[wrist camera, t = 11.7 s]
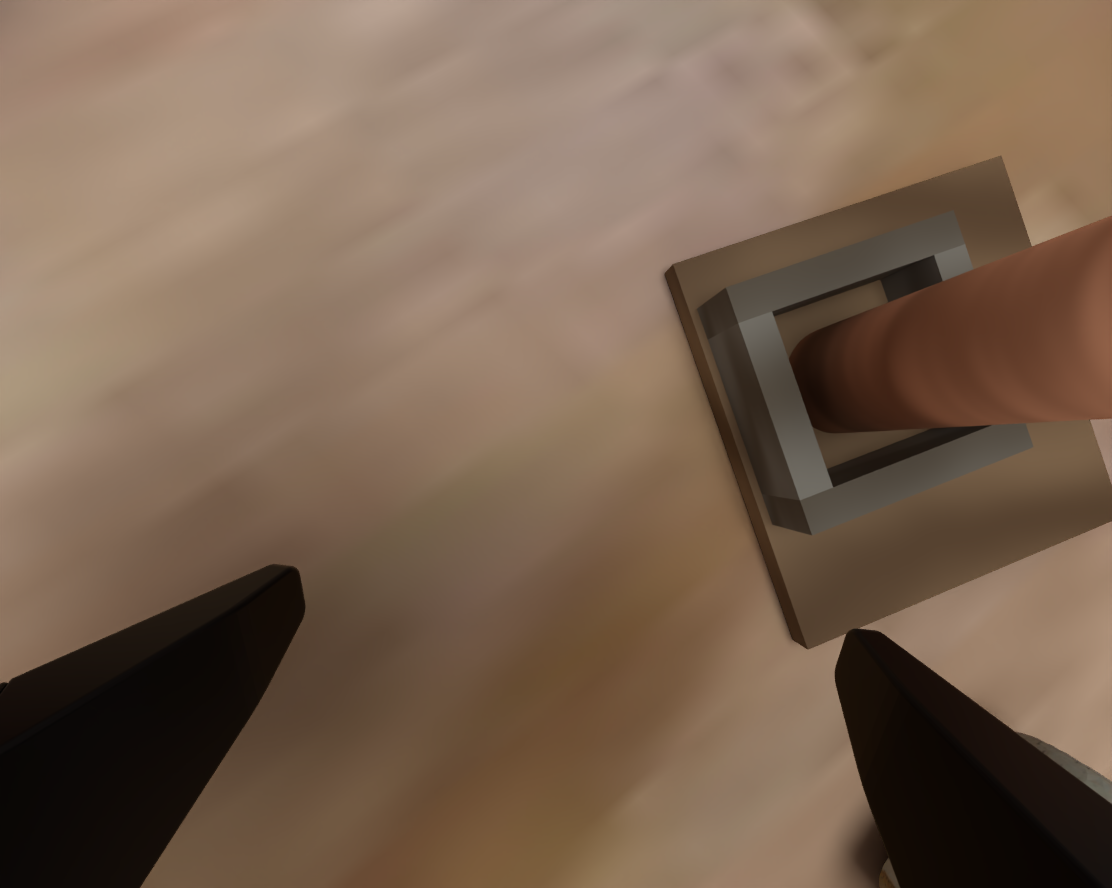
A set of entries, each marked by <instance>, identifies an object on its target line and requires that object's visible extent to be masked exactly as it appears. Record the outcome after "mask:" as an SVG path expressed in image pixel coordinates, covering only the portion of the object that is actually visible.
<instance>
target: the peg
mask: <svg viewBox="0 0 1112 888" xmlns="http://www.w3.org/2000/svg"><path fill="white" fill-rule="evenodd" d="M789 362H790V365H791V367H792V370H793V373H794V376H795V379H796V382H797V385H798V388H799V391H800V393H801V396H802V399H803V402H804V405H805V408H806V411H807V414H808V416H809V419H810V422H811V425H812V427H813V428H815V429H818V430H820V431H823V432H827V433H856V432H874V431H892V430H910V429H928V428H946V427H964V426H983V425H1001V424H1019V423H1037V422H1055V421H1073V420H1091V419H1110V418H1112V216H1110V217H1107V218H1104V219H1102V220H1099V221H1097V222H1094V223H1092V224H1089V225H1086V226H1084V227H1081V228H1079V229H1076V230H1073V231H1071V232H1068V233H1066V234H1063V235H1061V236H1058V237H1055V238H1053V239H1050V240H1048V241H1045V242H1043V243H1040V244H1037V245H1035V246H1032V247H1030V248H1027V249H1025V250H1022V251H1019V252H1017V253H1014V254H1012V255H1009V256H1007V257H1004V258H1001V259H999V260H996V261H994V262H991V263H989V264H986V265H983V266H981V267H978V268H976V269H973V270H970V271H968V272H965V273H963V274H960V275H958V276H955V277H952V278H950V279H947V280H945V281H942V282H940V283H937V284H934V285H932V286H929V287H927V288H924V289H922V290H919V291H916V292H914V293H911V294H909V295H906V296H904V297H901V298H898V299H896V300H893V301H891V302H888V303H886V304H883V305H880V306H878V307H875V308H873V309H870V310H867V311H865V312H862V313H860V314H857V315H855V316H852V317H849V318H847V319H844V320H842V321H839V322H837V323H834V324H831V325H829V326H826V327H824V328H821V329H819V330H816V331H814V332H812V333H810V334H809V335H807V336H806V337H804V338H803V339H802V340H801V341H800V342H799V343H798V344H797V345H796V347H795V348H794V350H793V351H792V353H791V355H790V357H789Z"/></svg>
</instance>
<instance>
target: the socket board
mask: <svg viewBox="0 0 1112 888" xmlns="http://www.w3.org/2000/svg"><path fill="white" fill-rule="evenodd" d="M1030 247H1032V246H1031V243H1030V240H1029V237H1028V234H1027V231H1026V228H1025V225H1024V222H1023V219H1022V216H1021V213H1020V210H1019V207H1018V204H1017V201H1016V198H1015V195H1014V192H1013V189H1012V186H1011V183H1010V180H1009V177H1008V174H1007V171H1006V168H1005V165H1004V162H1003V159H1002V156H998V157H995V158H992V159H989V160H986V161H983V162H980V163H977V164H974V165H971V166H968V167H965V168H962V169H959V170H956V171H953V172H950V173H947V174H944V175H941V176H938V177H935V178H932V179H929V180H926V181H923V182H920V183H917V184H914V185H911V186H908V187H905V188H902V189H899V190H896V191H893V192H890V193H887V194H884V195H881V196H878V197H875V198H872V199H869V200H866V201H863V202H860V203H856V204H853V205H850V206H847V207H844V208H841V209H838V210H835V211H832V212H829V213H826V214H823V215H820V216H817V217H814V218H811V219H808V220H805V221H802V222H799V223H796V224H793V225H790V226H787V227H784V228H781V229H778V230H775V231H772V232H769V233H766V234H763V235H760V236H757V237H754V238H751V239H748V240H745V241H742V242H739V243H736V244H733V245H730V246H727V247H724V248H721V249H718V250H715V251H712V252H709V253H706V254H703V255H700V256H697V257H694V258H691V259H688V260H685V261H681V262H678V263H675V264H673V265H672V266H671V267H670V268H669V269H668V270H667V271H666V273H665V276H666V279H667V282H668V285H669V287H670V290H671V293H672V296H673V299H674V302H675V305H676V307H677V310H678V313H679V316H680V319H681V322H682V324H683V327H684V330H685V333H686V336H687V339H688V342H689V344H690V347H691V350H692V353H693V356H694V359H695V362H696V364H697V367H698V370H699V373H700V376H701V379H702V382H703V384H704V387H705V390H706V393H707V396H708V399H709V402H710V404H711V407H712V410H713V413H714V416H715V419H716V421H717V424H718V427H719V430H720V433H721V436H722V439H723V441H724V444H725V447H726V450H727V453H728V456H729V459H730V461H731V464H732V467H733V470H734V473H735V476H736V479H737V481H738V484H739V487H740V490H741V493H742V496H743V498H744V501H745V504H746V507H747V510H748V513H749V516H750V518H751V521H752V524H753V527H754V530H755V533H756V536H757V538H758V541H759V544H760V547H761V550H762V553H763V556H764V558H765V561H766V564H767V567H768V570H769V573H770V576H771V578H772V581H773V584H774V587H775V590H776V593H777V595H778V598H779V601H780V604H781V607H782V610H783V613H784V615H785V618H786V621H787V624H788V627H789V630H790V633H791V635H792V638H793V640H794V641H795V642H797V643H799V644H800V645H802V646H803V647H805V648H806V649H810V648H813V647H815V646H818V645H820V644H822V643H825V642H827V641H829V640H832V639H834V638H836V637H839V636H841V635H844V634H846V633H847V632H848V631H849V630H851V629H854V628H857V629H858V628H860V627H862V626H865V625H867V624H870V623H872V622H874V621H877V620H879V619H881V618H884V617H886V616H888V615H891V614H893V613H896V612H898V611H900V610H903V609H905V608H907V607H910V606H912V605H914V604H917V603H919V602H922V601H924V600H926V599H929V598H931V597H933V596H936V595H938V594H940V593H943V592H945V591H948V590H950V589H952V588H955V587H957V586H959V585H962V584H964V583H966V582H969V581H971V580H974V579H976V578H978V577H981V576H983V575H985V574H988V573H990V572H992V571H995V570H997V569H1000V568H1002V567H1004V566H1007V565H1009V564H1011V563H1014V562H1016V561H1018V560H1021V559H1023V558H1026V557H1028V556H1030V555H1033V554H1035V553H1037V552H1040V551H1042V550H1044V549H1047V548H1049V547H1052V546H1054V545H1056V544H1059V543H1061V542H1063V541H1066V540H1068V539H1070V538H1073V537H1075V536H1078V535H1080V534H1082V533H1085V532H1087V531H1089V530H1092V529H1094V528H1096V527H1099V526H1101V525H1104V524H1106V523H1108V522H1111V521H1112V485H1111V482H1110V479H1109V476H1108V473H1107V470H1106V467H1105V464H1104V461H1103V458H1102V455H1101V452H1100V449H1099V446H1098V443H1097V440H1096V437H1095V434H1094V431H1093V428H1092V425H1091V422H1090V420H1073V421H1055V422H1037V423H1019V424H1001V425H983V426H964V427H946V428H928V429H910V430H892V431H874V432H856V433H827V432H823V431H820V430H818V429H815V428H813V427H812V425H811V422H810V419H809V416H808V414H807V411H806V408H805V405H804V402H803V399H802V396H801V393H800V391H799V388H798V385H797V382H796V379H795V376H794V373H793V370H792V367H791V365H790V362H789V357H790V355H791V353H792V351H793V350H794V348H795V347H796V345H797V344H798V343H799V342H800V341H801V340H802V339H803V338H804V337H806V336H807V335H809V334H810V333H812V332H814V331H816V330H819V329H821V328H824V327H826V326H829V325H831V324H834V323H837V322H839V321H842V320H844V319H847V318H849V317H852V316H855V315H857V314H860V313H862V312H865V311H867V310H870V309H873V308H875V307H878V306H880V305H883V304H886V303H888V302H891V301H893V300H896V299H898V298H901V297H904V296H906V295H909V294H911V293H914V292H916V291H919V290H922V289H924V288H927V287H929V286H932V285H934V284H937V283H940V282H942V281H945V280H947V279H950V278H952V277H955V276H958V275H960V274H963V273H965V272H968V271H970V270H973V269H976V268H978V267H981V266H983V265H986V264H989V263H991V262H994V261H996V260H999V259H1001V258H1004V257H1007V256H1009V255H1012V254H1014V253H1017V252H1019V251H1022V250H1025V249H1027V248H1030Z"/></svg>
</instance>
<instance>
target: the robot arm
mask: <svg viewBox="0 0 1112 888" xmlns="http://www.w3.org/2000/svg"><path fill="white" fill-rule="evenodd" d="M304 613H305V600H304V594H303V589H302V583H301V578H300V573H299V571H298V569H297V568H295V567H293V566H287V565H278V564H272V565H269V566H266V567H264V568H262V569H260V570H257V571H255V572H253V573H250V574H248V575H246V576H244V577H241V578H239V579H237V580H235V581H232V582H230V583H228V584H226V585H223V586H221V587H219V588H216V589H214V590H212V591H210V592H207V593H205V594H203V595H201V596H198V597H196V598H194V599H191V600H189V601H187V602H185V603H182V604H180V605H178V606H176V607H173V608H171V609H169V610H167V611H164V612H162V613H160V614H157V615H155V616H153V617H151V618H148V619H146V620H144V621H142V622H139V623H137V624H135V625H133V626H130V627H128V628H126V629H123V630H121V631H119V632H117V633H114V634H112V635H110V636H108V637H105V638H103V639H101V640H99V641H96V642H94V643H92V644H89V645H87V646H85V647H83V648H80V649H78V650H76V651H74V652H71V653H69V654H67V655H64V656H62V657H60V658H58V659H55V660H53V661H51V662H49V663H46V664H44V665H42V666H40V667H37V668H35V669H33V670H30V671H28V672H26V673H24V674H21V675H19V676H17V677H15V678H12V679H11V680H10V681H9V683H6V682H3V683H1V684H0V888H140V887H141V885H142V884H143V882H144V881H145V879H146V877H147V876H148V874H149V873H150V871H151V870H152V868H153V867H154V865H155V864H156V862H157V860H158V859H159V857H160V856H161V854H162V853H163V851H164V850H165V848H166V846H167V845H168V843H169V842H170V840H171V839H172V837H173V836H174V834H175V833H176V831H177V829H178V828H179V826H180V825H181V823H182V822H183V820H184V819H185V817H186V816H187V814H188V812H189V811H190V809H191V808H192V806H193V805H194V803H195V802H196V800H197V798H198V797H199V795H200V794H201V792H202V791H203V789H204V788H205V786H206V785H207V783H208V781H209V780H210V778H211V777H212V775H213V774H214V772H215V771H216V769H217V768H218V766H219V764H220V763H221V761H222V760H223V758H224V757H225V755H226V754H227V752H228V750H229V749H230V747H231V746H232V744H233V743H234V741H235V740H236V738H237V737H238V735H239V733H240V732H241V730H242V729H243V727H244V726H245V724H246V723H247V721H248V720H249V718H250V716H251V715H252V713H253V711H254V710H255V708H256V707H257V705H258V703H259V702H260V700H261V698H262V696H263V695H264V693H265V691H266V689H267V687H268V685H269V683H270V681H271V680H272V678H273V676H274V674H275V672H276V670H277V668H278V666H279V664H280V662H281V660H282V658H283V656H284V654H285V653H286V651H287V649H288V647H289V645H290V643H291V641H292V639H293V637H294V635H295V633H296V631H297V629H298V627H299V626H300V624H301V622H302V619H303V617H304ZM835 683H836V687H837V691H838V695H839V699H840V703H841V707H842V711H843V714H844V718H845V722H846V726H847V730H848V734H849V738H850V742H851V745H852V749H853V753H854V757H855V761H856V765H857V769H858V772H859V775H860V779H861V782H862V786H863V789H864V792H865V795H866V797H867V800H868V803H869V806H870V809H871V811H872V814H873V817H874V819H875V822H876V825H877V828H878V830H879V833H880V836H881V838H882V841H883V844H884V846H885V849H886V852H887V855H888V857H889V860H890V863H891V865H892V868H893V871H894V873H895V876H896V879H897V882H898V884H899V887H900V888H1112V803H1110V802H1109V801H1108V800H1106V799H1105V798H1103V797H1102V796H1101V795H1099V794H1098V793H1097V792H1095V791H1094V790H1093V789H1091V788H1090V787H1089V786H1087V785H1086V784H1085V783H1083V782H1082V781H1081V780H1079V779H1078V778H1077V777H1075V776H1074V775H1073V774H1071V773H1070V772H1068V771H1067V770H1066V769H1064V768H1063V767H1062V766H1060V765H1059V764H1058V763H1056V762H1055V761H1054V760H1052V759H1051V758H1050V757H1048V756H1047V755H1046V754H1044V753H1043V752H1042V751H1040V750H1039V749H1038V748H1036V747H1035V746H1033V745H1032V744H1031V743H1029V742H1028V741H1027V740H1025V739H1024V738H1023V737H1021V736H1020V735H1019V734H1017V733H1016V732H1015V731H1013V730H1012V729H1011V728H1009V727H1008V726H1007V725H1005V724H1004V723H1003V722H1001V721H1000V720H998V719H997V718H996V717H994V716H993V715H992V714H990V713H989V712H988V711H986V710H985V709H984V708H982V707H981V706H980V705H978V704H977V703H976V702H974V701H973V700H972V699H970V698H969V697H968V696H966V695H965V694H963V693H962V692H961V691H959V690H958V689H957V688H955V687H954V686H953V685H951V684H950V683H949V682H947V681H946V680H945V679H943V678H942V677H941V676H939V675H938V674H937V673H935V672H934V671H933V670H931V669H930V668H928V667H927V666H926V665H924V664H923V663H922V662H920V661H919V660H918V659H916V658H915V657H914V656H912V655H911V654H910V653H908V652H907V651H906V650H904V649H903V648H902V647H900V646H899V645H897V644H896V643H895V642H893V641H892V640H891V639H889V638H888V637H887V636H885V635H884V634H882V633H881V632H879V631H875V630H866V629H857V628H854V629H851V630H849V631H848V632H847V634H846V636H845V639H844V643H843V646H842V649H841V652H840V655H839V658H838V661H837V664H836V668H835Z"/></svg>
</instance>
